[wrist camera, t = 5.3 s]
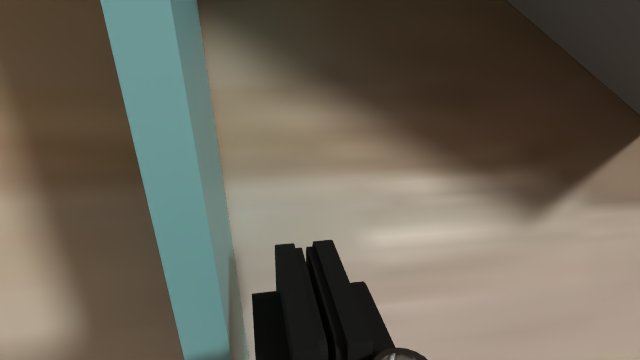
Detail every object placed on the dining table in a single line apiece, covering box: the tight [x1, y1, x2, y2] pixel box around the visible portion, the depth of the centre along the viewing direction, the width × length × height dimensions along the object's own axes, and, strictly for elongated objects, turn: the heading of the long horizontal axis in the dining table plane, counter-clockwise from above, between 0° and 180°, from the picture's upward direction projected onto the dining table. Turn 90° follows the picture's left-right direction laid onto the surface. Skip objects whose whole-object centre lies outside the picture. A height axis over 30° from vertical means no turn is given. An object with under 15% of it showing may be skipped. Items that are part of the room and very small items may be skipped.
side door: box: [100, 0, 249, 360], centre depth 11 cm, size 20×1×6 cm, turn 2°
